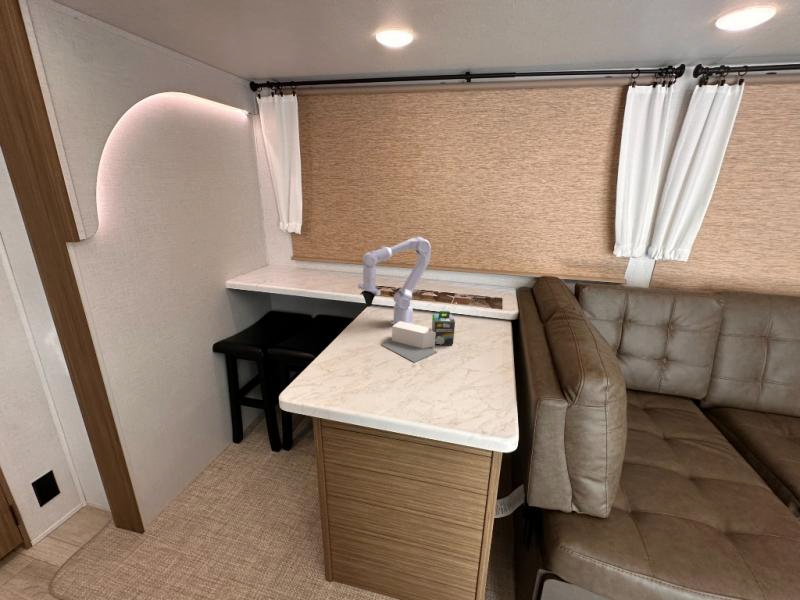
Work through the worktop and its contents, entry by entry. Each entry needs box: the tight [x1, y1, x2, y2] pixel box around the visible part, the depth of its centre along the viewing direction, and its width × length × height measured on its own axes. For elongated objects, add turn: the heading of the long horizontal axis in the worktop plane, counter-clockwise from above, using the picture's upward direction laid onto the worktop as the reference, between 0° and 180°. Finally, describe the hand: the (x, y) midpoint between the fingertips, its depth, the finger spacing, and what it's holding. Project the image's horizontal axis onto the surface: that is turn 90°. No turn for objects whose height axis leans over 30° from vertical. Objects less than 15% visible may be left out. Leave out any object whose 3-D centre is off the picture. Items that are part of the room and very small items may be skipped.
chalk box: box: [431, 310, 456, 346], centre depth 157 cm, size 9×9×15 cm
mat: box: [381, 340, 438, 364], centre depth 150 cm, size 14×20×1 cm
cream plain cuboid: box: [391, 321, 436, 348], centre depth 154 cm, size 7×7×19 cm
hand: (368, 305), depth 169 cm, fingers closed
